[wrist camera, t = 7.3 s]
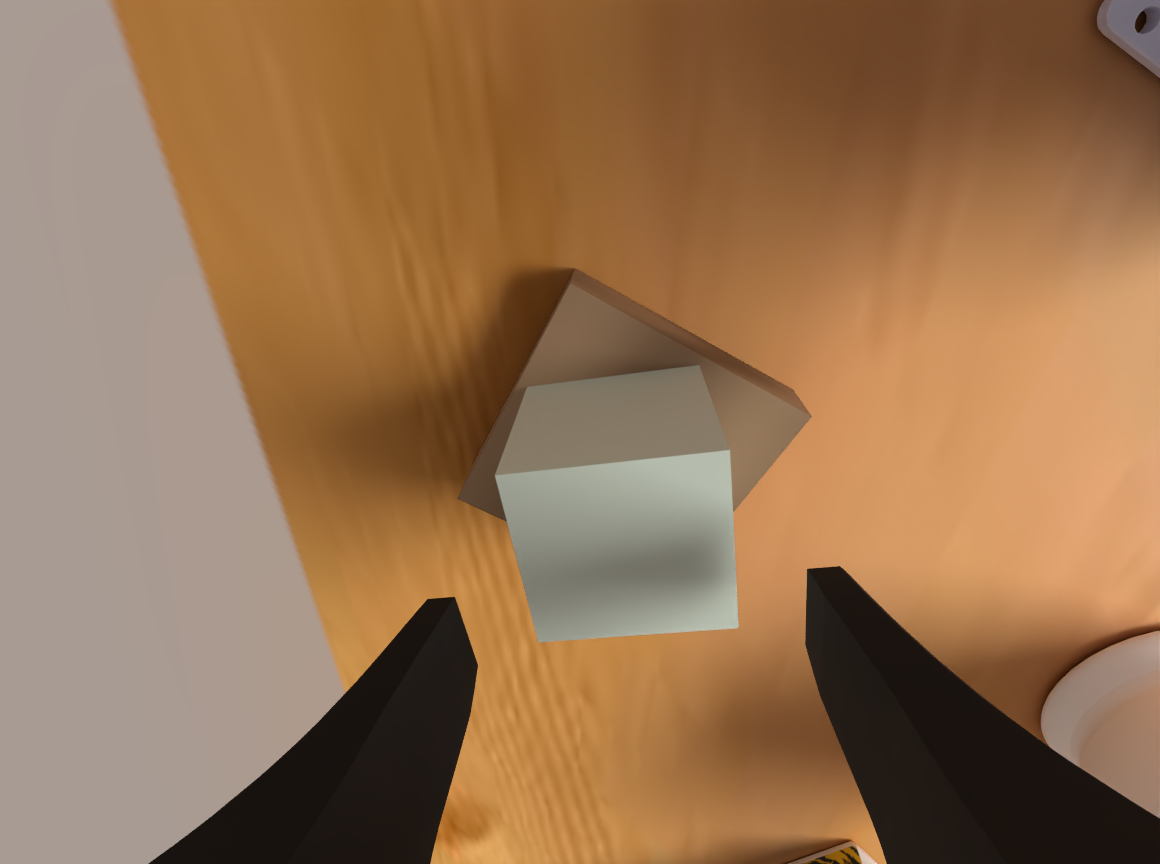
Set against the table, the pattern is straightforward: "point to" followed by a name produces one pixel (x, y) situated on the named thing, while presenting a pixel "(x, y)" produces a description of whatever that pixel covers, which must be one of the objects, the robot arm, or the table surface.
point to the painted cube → (621, 506)
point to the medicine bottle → (839, 856)
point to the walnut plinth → (632, 345)
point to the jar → (1112, 718)
